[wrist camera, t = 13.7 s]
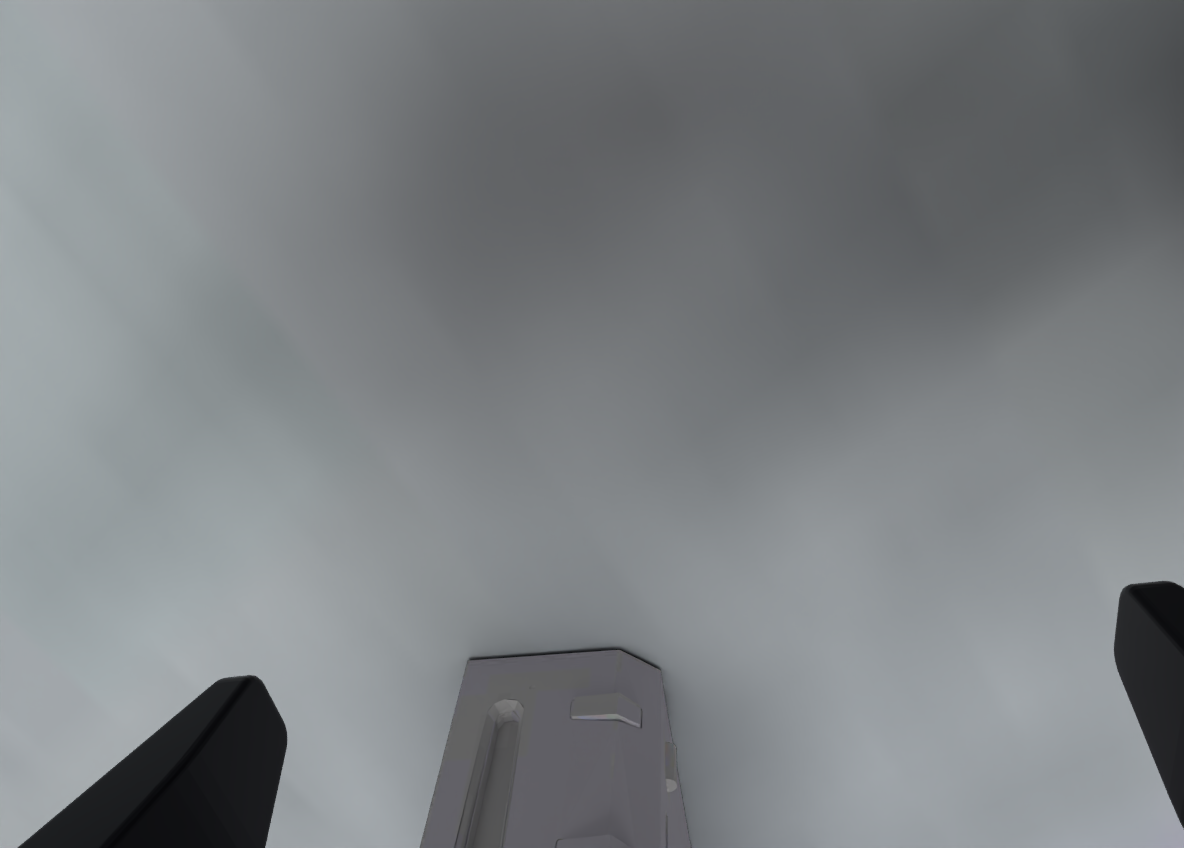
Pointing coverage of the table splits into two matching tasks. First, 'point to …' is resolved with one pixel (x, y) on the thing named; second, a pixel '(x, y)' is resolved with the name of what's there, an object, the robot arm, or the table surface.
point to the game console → (559, 757)
